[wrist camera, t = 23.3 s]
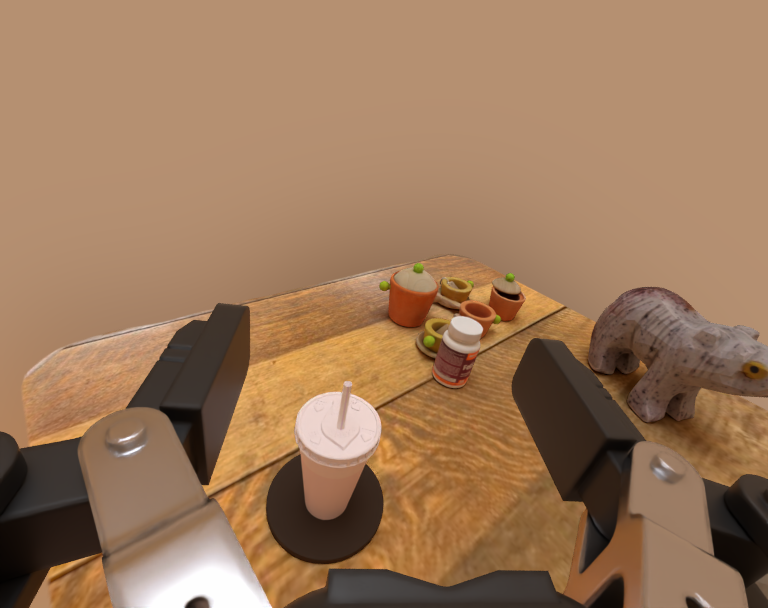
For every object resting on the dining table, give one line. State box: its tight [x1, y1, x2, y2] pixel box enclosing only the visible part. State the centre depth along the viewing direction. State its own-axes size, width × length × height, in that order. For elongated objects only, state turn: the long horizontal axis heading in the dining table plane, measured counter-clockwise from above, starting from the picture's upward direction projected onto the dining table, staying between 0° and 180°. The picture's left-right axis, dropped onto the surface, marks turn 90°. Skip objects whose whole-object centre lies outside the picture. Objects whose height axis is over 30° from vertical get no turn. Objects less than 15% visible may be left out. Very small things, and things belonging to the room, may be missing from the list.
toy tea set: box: [379, 263, 526, 359], centre depth 61 cm, size 26×16×10 cm, turn 133°
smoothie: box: [294, 381, 381, 520], centre depth 30 cm, size 6×6×14 cm
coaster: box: [266, 454, 383, 564], centre depth 33 cm, size 10×10×1 cm
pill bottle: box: [432, 316, 483, 388], centre depth 49 cm, size 5×5×8 cm
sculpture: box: [588, 287, 768, 422], centre depth 51 cm, size 12×21×15 cm, turn 37°
